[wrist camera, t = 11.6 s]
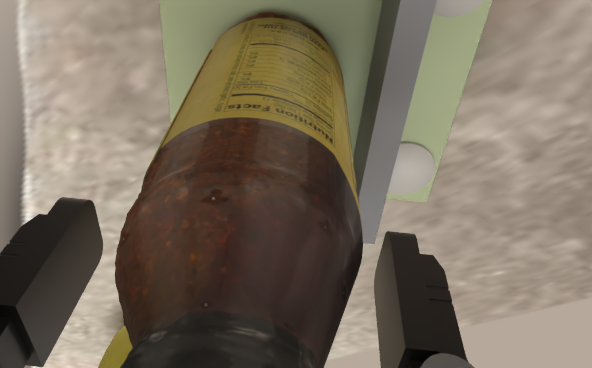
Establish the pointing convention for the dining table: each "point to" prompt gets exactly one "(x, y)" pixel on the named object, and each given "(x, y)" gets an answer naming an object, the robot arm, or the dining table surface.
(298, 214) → the sauce bottle
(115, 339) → the apple
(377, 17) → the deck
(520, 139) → the dining table surface
